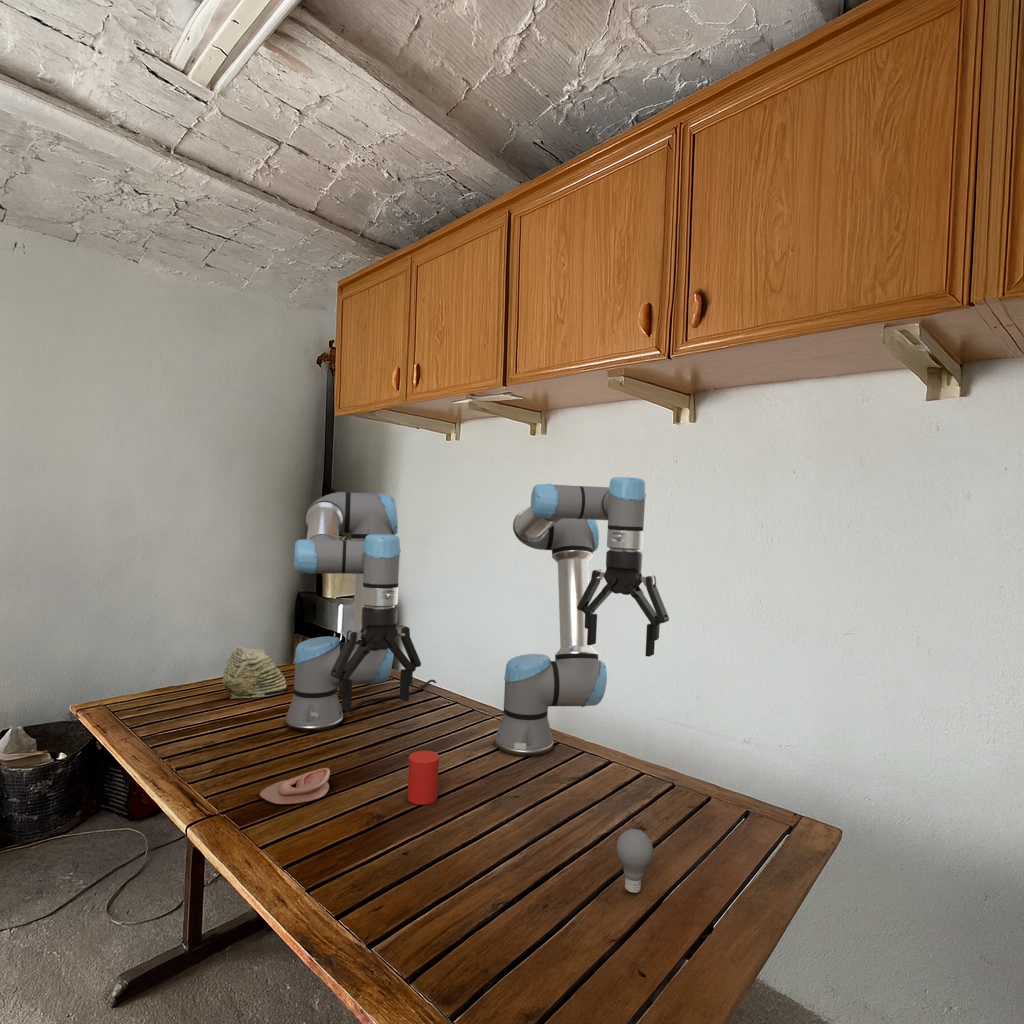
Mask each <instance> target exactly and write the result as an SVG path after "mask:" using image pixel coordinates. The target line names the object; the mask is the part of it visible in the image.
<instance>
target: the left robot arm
mask: <svg viewBox="0 0 1024 1024" xmlns="http://www.w3.org/2000/svg"><path fill="white" fill-rule="evenodd" d="M398 518H399V517H398V511H397V504H396V500H395V498H394V497H393V496H392V495H390V494H386V493H378V492H377V493H376V492H375V493H374V492H372V493H371V492H346V491H337V492H332V493H329V494H326V495H324V496H321V497H320V498H318V499H316V500H315V501H314V502H313V503H311V505H309V507H308V509H307V512H306V516H305V523H306V526H307V534H306V538H304V539H297V540H296V542H295V543H294V554H293V555H294V556H293V567H294V570H295V572H296V573H299V574H309V575H314V574H350V575H351V574H352V575H354V596H353V597H354V598H353V623H352V624H353V625H352V630H351V629H349V630H347V632H346V637H345V642H341V640H340V638H339V637H337V636H330V635H327V636H318V637H313V638H308V639H306V640H303V641H302V642H299V643H298V644H297V645H296V648H295V655H294V660H293V663H294V674H293V675H294V680H293V695H292V696H293V697H292V699H291V702H290V704H289V708H288V711H287V713H286V715H285V726H286V728H287V729H289V730H291V731H294V732H295V731H296V732H301V733H316V732H325V731H329V730H332V729H335V728H337V727H339V726H340V725H342V723H343V722H344V714H343V712H346V713H351V712H352V711H353V710H355V709H356V708H358V706H360V705H362V704H364V703H368V702H373V701H383V700H389V699H395V698H396V699H397V698H399V700H401V701H403V702H405V703H407V702H409V701H410V700H409V699H410V695H412V694H415V693H417V692H419V691H420V690H421V689H422V688H425V687H426V686H427V685H429V684H430V683H434V684H437V681H436V680H435V679H429V680H428V681H426V682H424V683H423V684H422V685H420V686H419V687H417V688H415V689H414V690H411V691H410V686H412V685H413V677H414V676H413V675H414V672H416V670H417V668H420V667H421V666H422V662H421V660H420V657H419V655H418V653H417V650H416V648H415V645H414V643H413V640H412V638H411V632H410V631H411V630H410V627H409V626H406V625H400V626H398V627H397V623H398V608H397V607H396V606H397V605H398V603H399V601H398V600H399V574H400V557H401V556H400V554H401V540H400V539H401V538H400V537H399V536H398V535H397V534H398V533H399V526H398V525H399V521H398V520H399V519H398ZM340 534H350V540H340ZM397 636H398V637H399V638H400V641H401V643H402V645H403V648H404V650H405V652H406V654H405V653H404V652H403V651H402V649H401V648H400V647H399V644H398V643H397V642H396V641H395V639H396V637H397ZM406 655H407V656H406ZM394 657H395V658H396V659H397V661H398V662H399V663H400V664H401V666H402V667H403V668H402V669H401V668H400V676H399V679H400V680H399V693H398V694H393V695H388V696H380V697H371V698H366V699H363V700H360V701H359V702H357V703H356V704H355V705H353V706H352V697H353V695H352V694H353V693H352V692H353V685H370V686H372V685H374V684H384V683H386V682H387V681H388V680H389V678H390V675H391V673H392V672H391V671H392V667H393V661H394ZM338 693H339V695H340V696H341V697H342V698H341V702H340V699H339V695H338Z"/></svg>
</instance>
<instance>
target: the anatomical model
mask: <svg viewBox="0 0 1024 1024" xmlns="http://www.w3.org/2000/svg"><path fill="white" fill-rule="evenodd" d="M330 776H331V770H330V768H329V767H323V768H319V769H314V770H312V771H308V772H305V773H303V774H300V775H297V776H294V777H292V778H289V779H284V780H281V781H280V780H279V781H277V782H275V783H273V784H270V785H269V786H266V787H265V788H263V789H262V790H261V791H259V797H261V799H264V800H265V801H267V802H269V803H271V804H275V805H292V804H300V803H306V802H310V801H314V800H318V799H320V798H322V797H324V796H325V795H326V794H327V793H328V792H329V790H330V784H329V782H328V780H329V778H330Z"/></svg>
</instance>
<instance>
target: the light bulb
mask: <svg viewBox="0 0 1024 1024" xmlns="http://www.w3.org/2000/svg"><path fill="white" fill-rule="evenodd" d="M615 849H616V854H617V857H618V859H619V861H620V863H621V865H622V867H623V873H624V874H623V875H624V876H625V878H624V888H625V890H627V891H628V892H630V893H634V894H635V893H639V892H640V891H641V889H642V887H641V886H642V879H643V877H644V875H645V871H646V868H647V867H648V866H649V864H650V863H651V861H652V859H653V855H654V847H653V843H652V841H651V838H649V836H648V835H647V834H646V833H645V832H643V831H642V830H641V829H636V828H629V829H627V830H625V831H623V832H622V833H621V834H620V835H619V837H618V839H617V841H616V847H615Z"/></svg>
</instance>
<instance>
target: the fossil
mask: <svg viewBox="0 0 1024 1024" xmlns="http://www.w3.org/2000/svg"><path fill="white" fill-rule="evenodd" d="M222 676H223V677H222V685H223V687H224V688H225V690H226V691H228V693H229V698H230V699H250V698H264V697H271V696H275V695H281V694H284V693H285V691H286V689H287V687H288V686H287V680H286V678H285V676H284V674H283V673H282V672H281V669H279V668H278V667H277V665H276V663H275V662H274V660H273V659H272V658H271V657H270V656H269V655H268V654H267V653H266V652H265V650H264V649H263V648H260V647H258V648H251V647H247V646H246V647H245V646H238V647H237V648H236V649H235V650H233V651H232V653H231V656H230V657H229V659H228V660H227V663H226V666H225V668H224V671H223V675H222Z"/></svg>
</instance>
